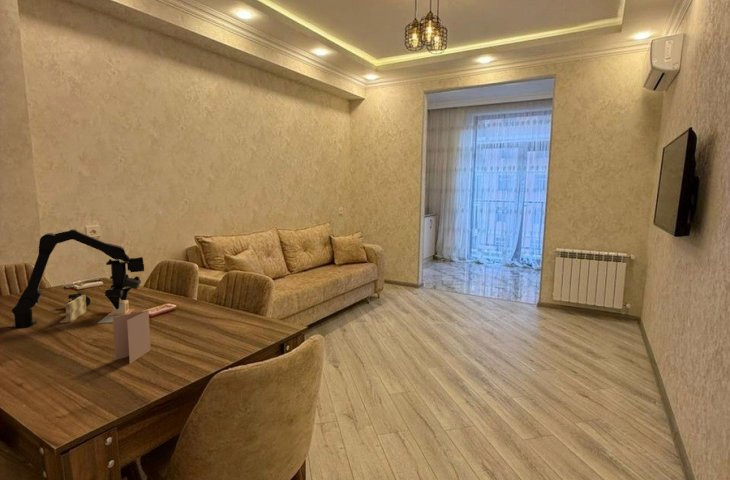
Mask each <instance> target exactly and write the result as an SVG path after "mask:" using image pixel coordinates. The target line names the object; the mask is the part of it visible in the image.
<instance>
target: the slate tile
mask: <svg viewBox="0 0 730 480" xmlns="http://www.w3.org/2000/svg"><path fill="white" fill-rule="evenodd" d="M120 316H123V315H120ZM113 317H118V316H107V315H106V316H105V317H103V318H102V319H101V320H99V321H98V322H97V324H99V325H100V324H113Z"/></svg>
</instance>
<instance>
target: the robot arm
mask: <svg viewBox="0 0 730 480" xmlns="http://www.w3.org/2000/svg"><path fill="white" fill-rule="evenodd" d="M70 240H73V241H76V242H78V243H81V244H84V245H86V246H87V247H90V248H94V249H96V250H98V251H100V252H102V253H103V254H105V255H106V256H108V257H110V258H109V259H108V260H107V261H106V262H105V265H106V266H110V271H111V275H110V277H109V279H110V280H111V282H112V283H111V285H110V287H108V289H107V290H105V291H104V296H105V297H106V298H108V300H109V301H110V302H111V304H112V307H113V306H114V307H115V309H119V303H120V300H128V299H127V298H128V295H129V292H130V291H131V289H133V290H137V289H138V288H140V285H141V283H142V282H141V281H142V280H141V279H140V276H135V277H129V275H128V274H127V271H129V273H140V272H145V264H144V258H143V256H139V257H130V256H129V255H127V254H126V251H125V248H124V247H123V246H121V245H117V244H114V243H113V244H112V243H108V242H105V241H102V240H100V239H97V238H94V237H92V236H89V235H87V234H86V233H85V234H84V233H82V232H80V231H78V230H76V229H69V230H67V231H62V232H57V233H53V232H49V233H48V232H47V233H46V234H44V235H42V236H41V237H40V239H39V242H38V243H39V244H38V255H37V258H36V261H35V264H34V267H33V269H32V272H31V275H30V278H29V279H28V280H29V281H28V284H27V286H26V287H25V289H24V290H23V292H22V294H21V296H20V297H19V298H18V301H17V303H16V304H15V305H14V306H13V308H12V309H11V312H12V314H13V315H14V324H13V325H12V326H10V328H11V329H17V328H30V327H31V326H33V325H35V324H37V323H38V321H37V320H34V318H33V317H34V316H33V309H32V308H33V307H35V305H36V304H38V303H39V302H40V300H41V295H42V293H43V292H44V290H40V284H41V282H42V279H43V277H44V274H45V271H46V268H47V265H48V262H49V259H50V256H51V254H52V252H54V250H55V248H56V246H57V245H58V244H61V243H64V242H68V241H70ZM111 258H112V259H111ZM126 266H127V267H126Z"/></svg>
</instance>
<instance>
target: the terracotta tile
mask: <svg viewBox="0 0 730 480" xmlns="http://www.w3.org/2000/svg"><path fill="white" fill-rule="evenodd" d="M135 310H136V308H129V311H127V312H126V313H123V314H113V310H112V311H111V312H110V313H108V314H106V316H120V315H127V314H132V313H134V311H135Z"/></svg>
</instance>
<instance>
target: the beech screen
mask: <svg viewBox="0 0 730 480" xmlns="http://www.w3.org/2000/svg"><path fill="white" fill-rule="evenodd" d="M86 296H87V294H85V295H81V296H79V297H78V298H76V299H74V300H73V301H72V300H70V301H71V302H69V301H68V302H67V303H65V315H66V317H65V318H64V319H62V320H60V321H59V323H60V324H67V323H72V322H74V321H76V319H78V318H79V317H81V316H82V315H84V314H85V313H86V312H87V311H88V310H87V307H86Z"/></svg>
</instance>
